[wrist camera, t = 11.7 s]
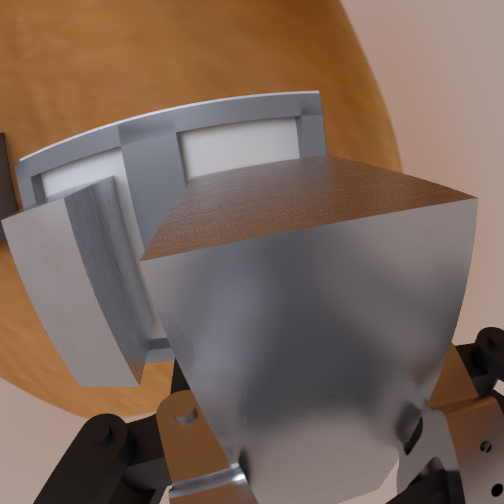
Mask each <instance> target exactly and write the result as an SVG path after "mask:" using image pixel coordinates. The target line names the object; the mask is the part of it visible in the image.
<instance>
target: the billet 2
mask: <svg viewBox="0 0 504 504" xmlns="http://www.w3.org/2000/svg"><path fill="white" fill-rule="evenodd" d="M477 201H478V198H477V197H474V196H471V195H468V194H466V193H463V192H460V191H457V190H454V189H451V188H448V187H445V186H442V185H439V184H436V183H433V182H430V181H427V180H423V179H420V178H417V177H413V176H410V175H406V174H402V173H399V172H395V171H391V170H388V169H384V168H380V167H376V166H372V165H367V164H363V163H359V162H354V161H350V160H345V159H340V158H336V157H331V156H325V155H321V156H313V157H305V158H297V159H290V160H283V161H277V162H270V163H264V164H258V165H252V166H247V167H241V168H236V169H230V170H225V171H220V172H215V173H210V174H205V175H201V176H196V177H192V178H191V179H190V181H189V182H188V184H187V185H186V187H185V188H184V190H183V191H182V193H181V194H180V196H179V197H178V199H177V200H176V202H175V203H174V205H173V206H172V208H171V210H170V211H169V213H168V214H167V216H166V217H165V219H164V221H163V222H162V224H161V225H160V227H159V229H158V230H157V232H156V233H155V235H154V237H153V238H152V240H151V242H150V243H149V245H148V247H147V248H146V250H145V252H144V253H143V255H142V257H141V259H140V260H139V265H140V268H141V270H142V273H143V276H144V279H145V282H146V285H147V288H148V290H149V293H150V296H151V298H152V301H153V304H154V306H155V309H156V311H157V314H158V317H159V319H160V322H161V324H162V326H163V329H164V331H165V334H166V336H167V339H168V341H169V343H170V346H171V348H172V350H173V352H174V355H175V357H176V359H177V361H178V364H179V366H180V368H181V370H182V372H183V374H184V377H185V379H186V381H187V383H188V385H189V387H190V389H191V391H192V393H193V395H194V397H195V399H196V401H197V403H198V405H199V407H200V409H201V411H202V413H203V415H204V416H205V418H206V420H207V422H208V424H209V426H210V428H211V429H212V431H213V433H214V435H215V437H216V438H217V440H218V442H219V444H220V445H221V447H222V449H223V450H224V452H225V453H234V455H235V457H236V459H237V462H238V464H239V466H240V468H241V470H242V472H243V474H244V476H245V478H246V480H247V482H248V484H249V486H250V488H251V490H252V492H253V494H254V496H255V497H256V499H257V501H258V503H259V504H337V503H340V502H343V501H346V500H349V499H352V498H355V497H358V496H361V495H364V494H366V493H369V492H372V491H374V490H377V489H379V488H380V486H381V485H382V483H383V482H384V481H385V479H386V478H387V476H388V475H389V473H390V471H391V470H392V468H393V467H394V465H395V464H396V462H397V460H398V458H399V452H398V450H399V449H400V447H401V445H402V444H403V443H404V442H407V441H409V440H410V438H411V436H412V434H413V432H414V430H415V428H416V426H417V424H418V422H419V420H420V418H421V416H422V415H421V411H420V410H421V408H422V406H423V404H424V402H425V400H426V398H427V397H429V396H431V395H432V392H433V390H434V388H435V385H436V383H437V380H438V378H439V375H440V373H441V370H442V367H443V365H444V362H445V359H446V356H447V353H448V350H449V347H450V344H451V341H452V338H453V335H454V332H455V328H456V325H457V321H458V318H459V314H460V310H461V306H462V302H463V297H464V293H465V289H466V284H467V279H468V274H469V269H470V263H471V257H472V250H473V243H474V235H475V225H476V215H477Z"/></svg>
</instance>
